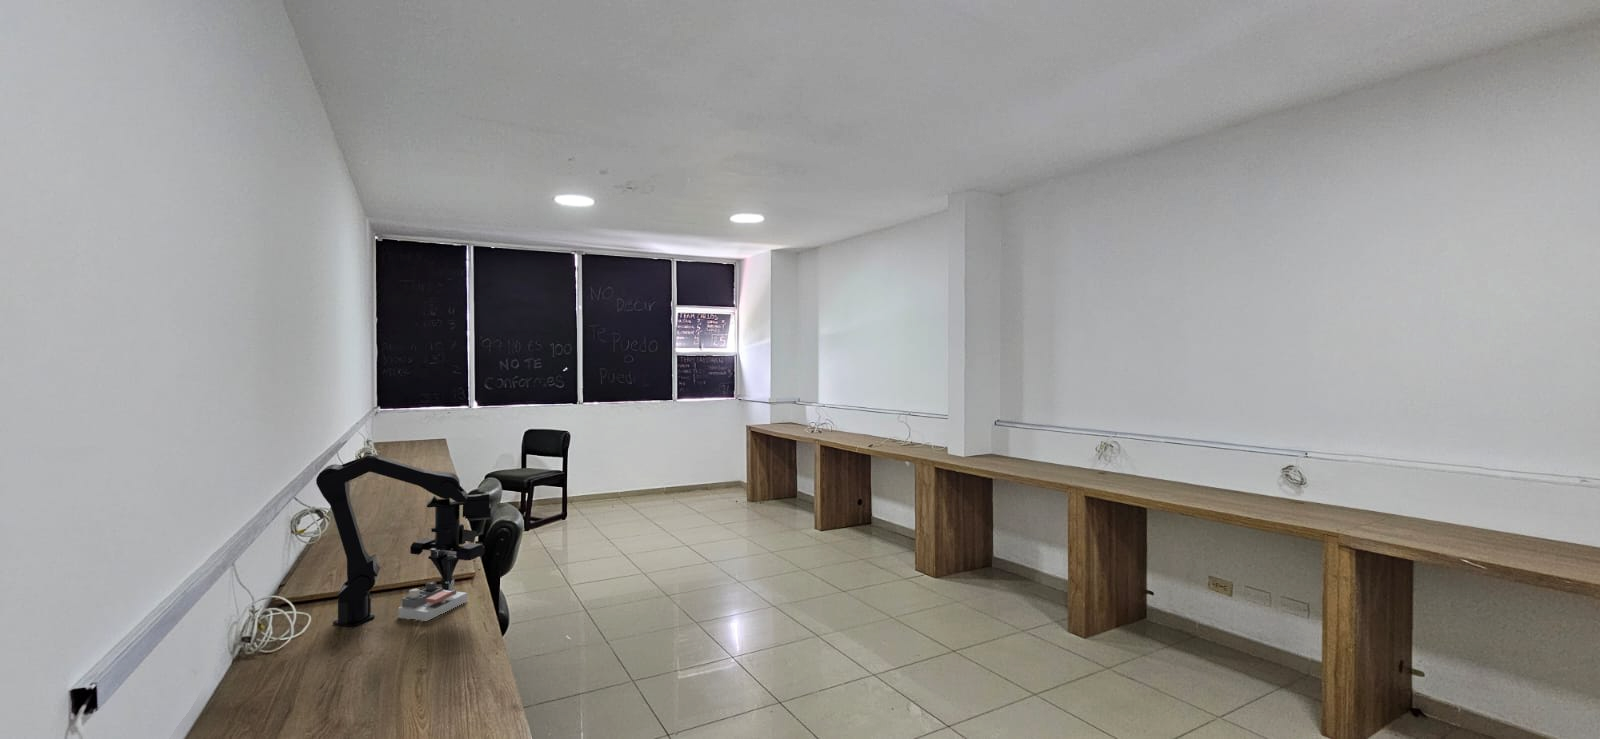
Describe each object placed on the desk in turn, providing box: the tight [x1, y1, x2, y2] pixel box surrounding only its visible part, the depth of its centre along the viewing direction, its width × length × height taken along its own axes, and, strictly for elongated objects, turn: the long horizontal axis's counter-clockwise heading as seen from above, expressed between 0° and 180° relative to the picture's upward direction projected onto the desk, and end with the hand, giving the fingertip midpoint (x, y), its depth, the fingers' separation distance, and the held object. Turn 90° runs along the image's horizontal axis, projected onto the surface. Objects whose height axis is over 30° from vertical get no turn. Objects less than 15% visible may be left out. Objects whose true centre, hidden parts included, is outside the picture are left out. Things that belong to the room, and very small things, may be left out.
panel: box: [397, 579, 468, 621], centre depth 180 cm, size 14×9×6 cm, turn 165°
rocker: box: [426, 590, 453, 604], centre depth 178 cm, size 6×3×1 cm, turn 165°
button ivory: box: [408, 588, 421, 600], centre depth 177 cm, size 2×2×2 cm
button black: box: [425, 581, 437, 592], centre depth 182 cm, size 2×2×2 cm
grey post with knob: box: [440, 576, 454, 590], centre depth 193 cm, size 7×5×10 cm
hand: (447, 581), depth 180 cm, fingers closed
